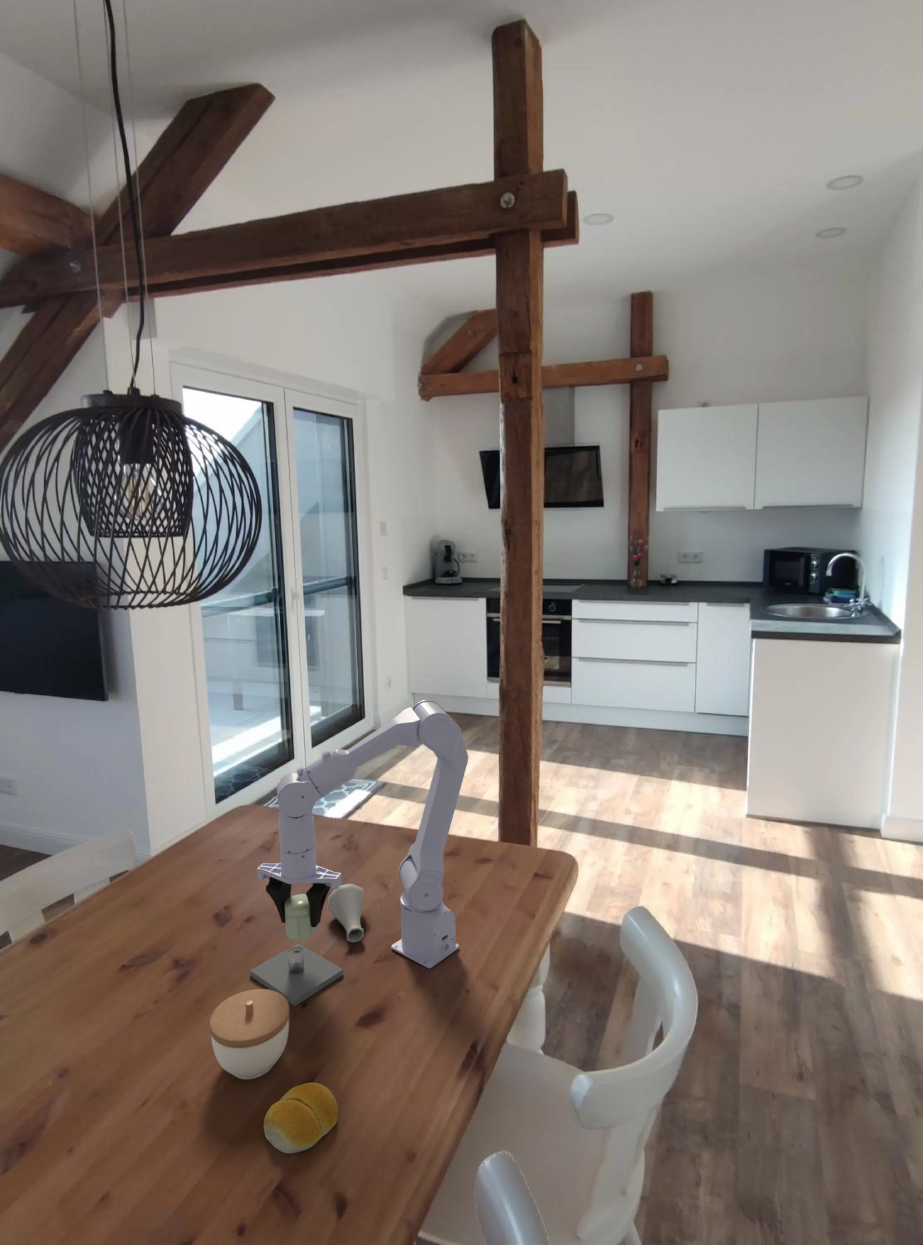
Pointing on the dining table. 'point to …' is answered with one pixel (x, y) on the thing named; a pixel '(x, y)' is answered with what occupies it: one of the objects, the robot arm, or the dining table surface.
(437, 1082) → the dining table surface
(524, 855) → the dining table surface
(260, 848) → the dining table surface
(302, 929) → the cap
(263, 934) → the dining table surface
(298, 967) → the stub
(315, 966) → the mat
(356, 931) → the flask
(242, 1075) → the lidded jar
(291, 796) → the robot arm
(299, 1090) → the bread roll
